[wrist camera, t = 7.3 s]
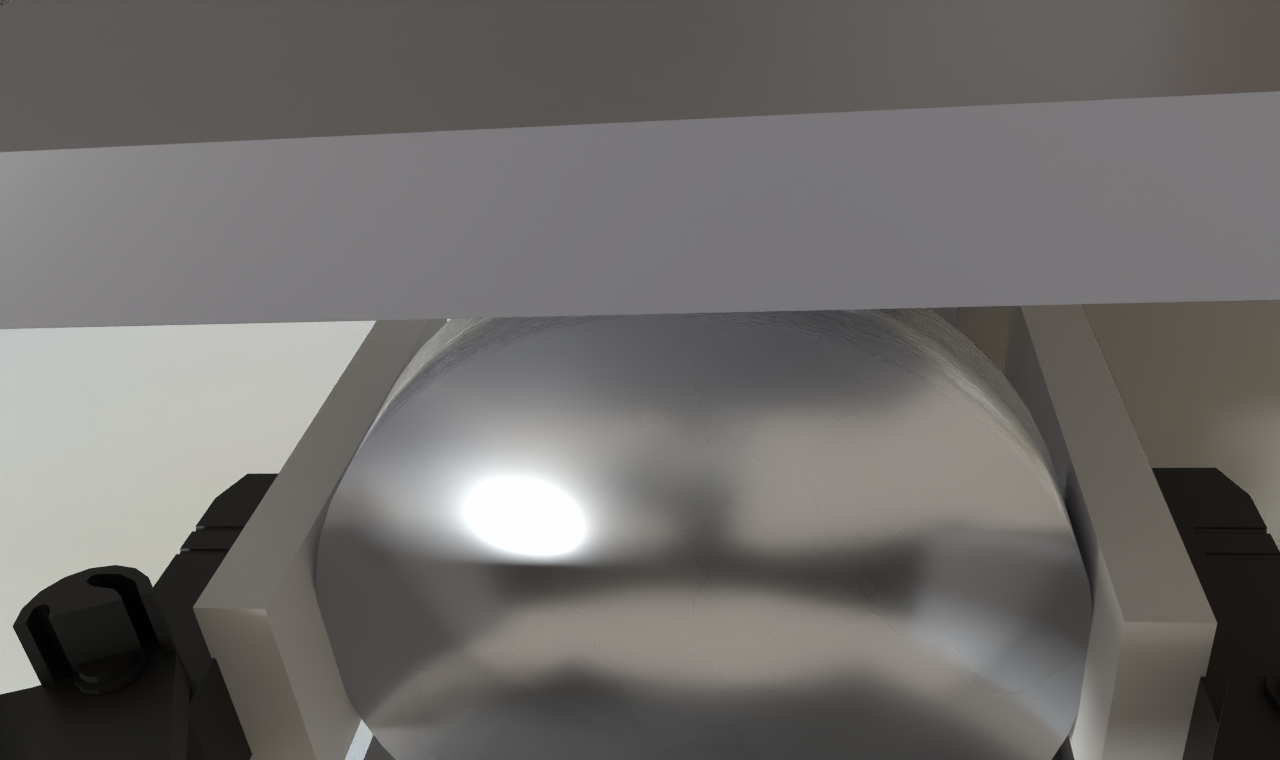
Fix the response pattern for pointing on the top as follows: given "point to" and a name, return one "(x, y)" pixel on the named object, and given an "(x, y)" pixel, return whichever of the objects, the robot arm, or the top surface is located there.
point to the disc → (706, 546)
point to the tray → (630, 157)
